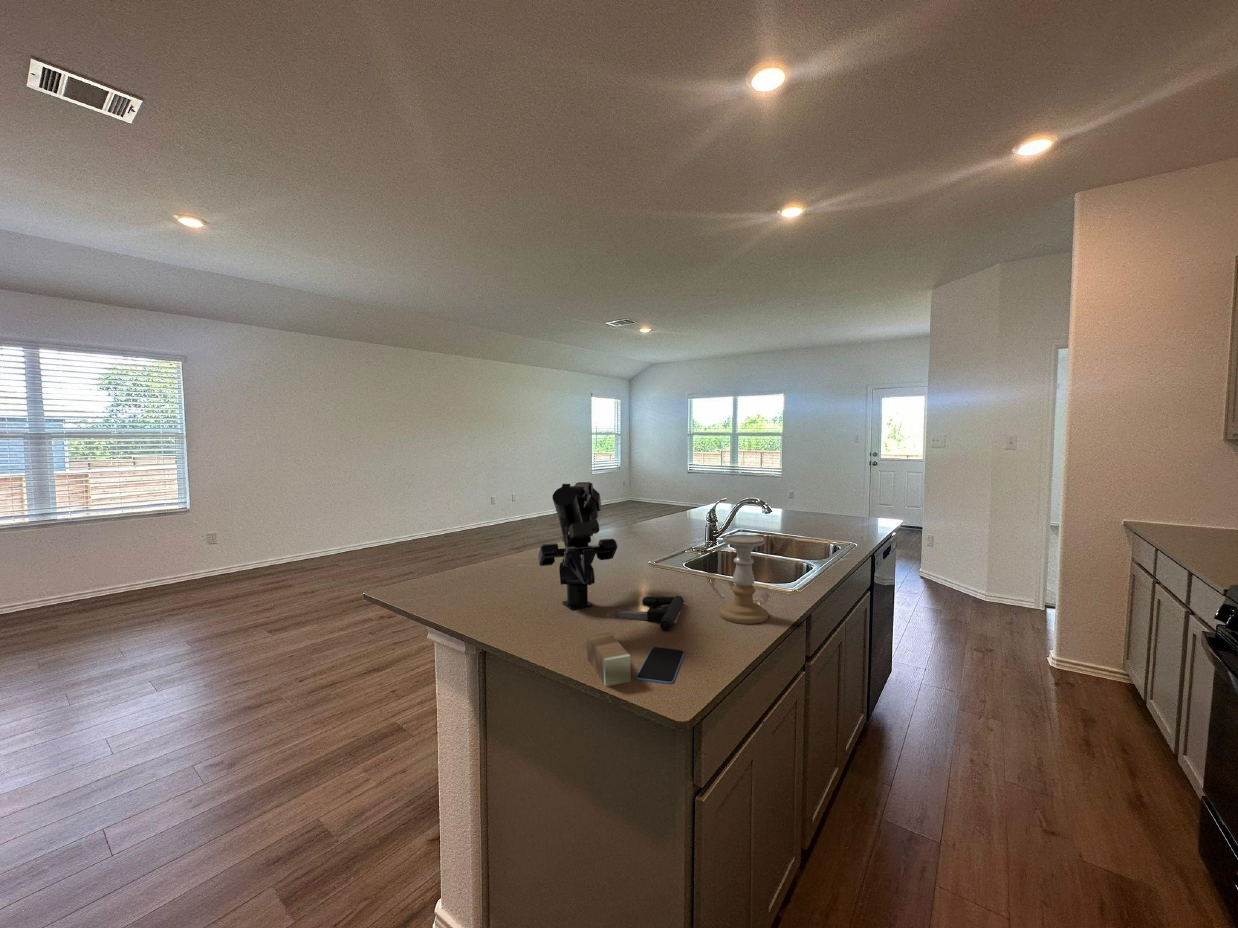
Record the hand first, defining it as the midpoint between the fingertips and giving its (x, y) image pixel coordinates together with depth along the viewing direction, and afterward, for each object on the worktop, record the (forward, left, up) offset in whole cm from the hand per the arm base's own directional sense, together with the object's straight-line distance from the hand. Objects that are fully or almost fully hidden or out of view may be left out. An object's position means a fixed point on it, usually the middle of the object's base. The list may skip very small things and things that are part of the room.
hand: (585, 582), depth 117 cm
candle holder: (+10, +40, -13) cm, 43 cm away
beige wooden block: (+12, -3, -10) cm, 16 cm away
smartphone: (+22, +6, -13) cm, 26 cm away
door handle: (-3, +20, -13) cm, 24 cm away
